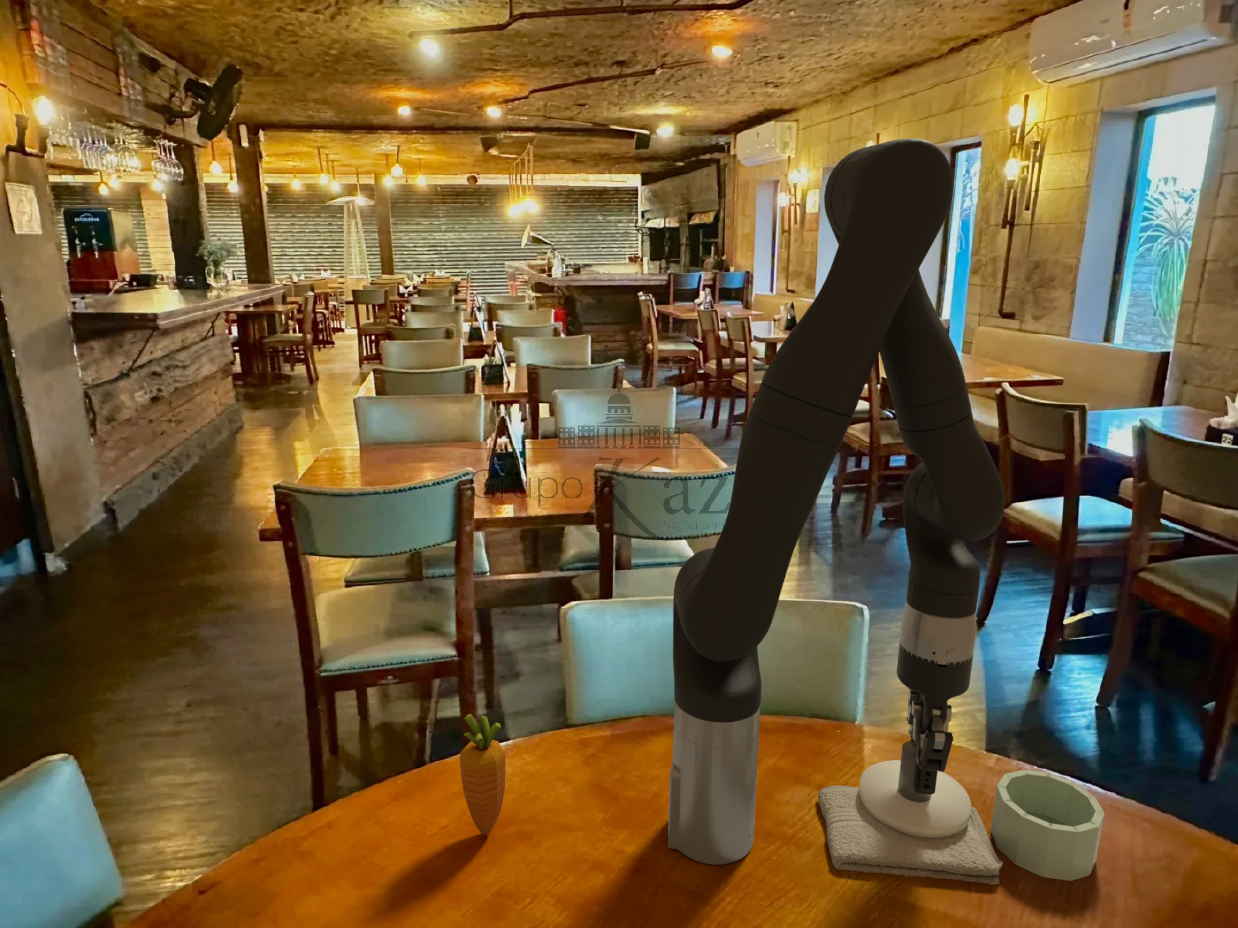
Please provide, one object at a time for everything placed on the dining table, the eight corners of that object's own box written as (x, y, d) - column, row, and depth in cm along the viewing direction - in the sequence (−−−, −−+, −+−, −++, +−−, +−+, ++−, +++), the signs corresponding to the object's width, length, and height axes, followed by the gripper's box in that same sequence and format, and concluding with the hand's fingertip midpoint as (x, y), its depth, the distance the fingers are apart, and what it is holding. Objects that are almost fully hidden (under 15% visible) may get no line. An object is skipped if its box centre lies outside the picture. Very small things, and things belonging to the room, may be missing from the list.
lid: (863, 828, 87) (868, 775, 85) (855, 762, 98) (860, 714, 97) (980, 845, 84) (987, 790, 83) (958, 776, 96) (965, 727, 94)
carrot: (517, 833, 89) (513, 715, 86) (481, 856, 86) (476, 734, 82) (489, 813, 93) (484, 698, 89) (454, 834, 89) (447, 716, 86)
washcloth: (1007, 891, 82) (1011, 866, 82) (831, 876, 84) (833, 851, 83) (970, 814, 94) (973, 791, 93) (816, 803, 96) (817, 780, 95)
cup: (1005, 871, 84) (1012, 823, 83) (983, 809, 94) (989, 765, 92) (1108, 886, 82) (1118, 837, 81) (1075, 821, 92) (1083, 776, 90)
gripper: (892, 612, 94) (879, 740, 98) (909, 671, 80) (894, 816, 85) (959, 618, 92) (944, 748, 97) (988, 678, 79) (969, 826, 83)
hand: (920, 779), depth 91 cm, fingers closed on lid, 3 cm apart
